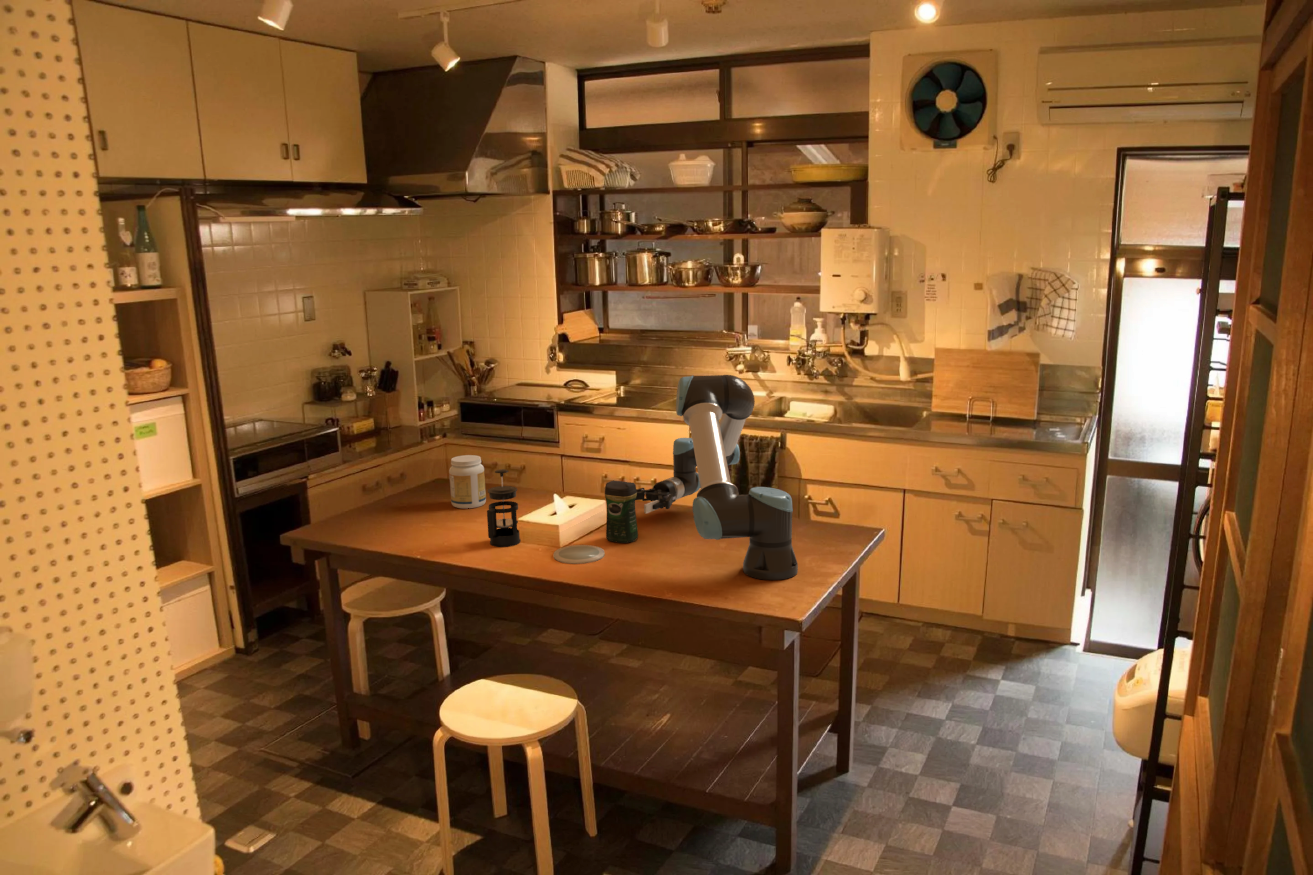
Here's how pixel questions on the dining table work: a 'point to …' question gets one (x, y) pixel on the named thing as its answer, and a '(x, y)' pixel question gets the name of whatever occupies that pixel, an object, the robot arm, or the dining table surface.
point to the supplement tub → (467, 482)
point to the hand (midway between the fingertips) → (627, 505)
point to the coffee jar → (621, 511)
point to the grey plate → (579, 554)
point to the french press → (504, 533)
